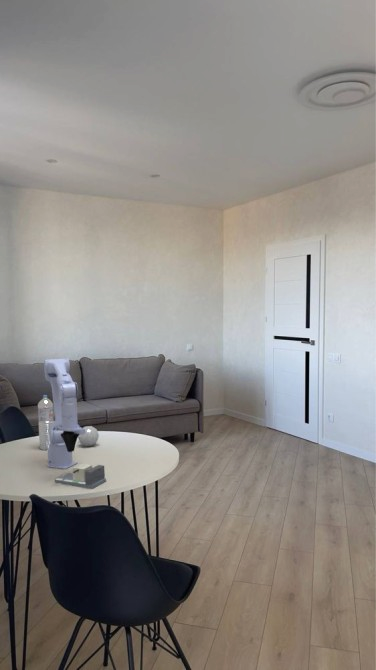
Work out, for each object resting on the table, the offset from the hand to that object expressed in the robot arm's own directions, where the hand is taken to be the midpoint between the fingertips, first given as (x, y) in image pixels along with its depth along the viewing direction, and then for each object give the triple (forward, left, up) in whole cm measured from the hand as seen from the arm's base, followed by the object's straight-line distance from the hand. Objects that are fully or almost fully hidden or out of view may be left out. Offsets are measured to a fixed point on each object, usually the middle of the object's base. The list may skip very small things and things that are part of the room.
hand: (70, 451), depth 180 cm
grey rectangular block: (+12, -2, -9) cm, 15 cm away
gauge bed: (+6, -2, -10) cm, 12 cm away
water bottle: (-39, +29, -11) cm, 50 cm away
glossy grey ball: (-25, +42, -11) cm, 50 cm away
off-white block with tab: (+7, -3, -9) cm, 12 cm away
